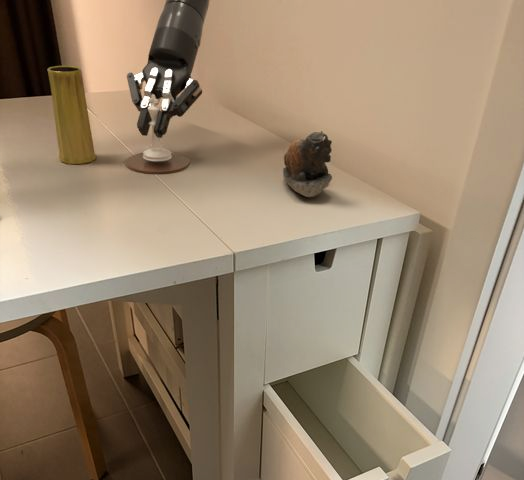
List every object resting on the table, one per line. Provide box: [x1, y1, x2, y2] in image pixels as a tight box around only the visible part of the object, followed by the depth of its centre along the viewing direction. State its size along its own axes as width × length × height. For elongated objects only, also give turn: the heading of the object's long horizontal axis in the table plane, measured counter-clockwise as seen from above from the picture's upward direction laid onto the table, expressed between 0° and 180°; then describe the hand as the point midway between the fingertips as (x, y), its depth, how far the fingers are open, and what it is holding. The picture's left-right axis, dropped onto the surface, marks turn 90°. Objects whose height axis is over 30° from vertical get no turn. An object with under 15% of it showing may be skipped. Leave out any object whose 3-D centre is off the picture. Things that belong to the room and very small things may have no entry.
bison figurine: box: [282, 130, 333, 198], centre depth 86 cm, size 12×7×10 cm, turn 14°
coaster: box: [124, 152, 190, 175], centre depth 96 cm, size 11×11×1 cm
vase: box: [47, 65, 97, 165], centre depth 92 cm, size 6×6×14 cm
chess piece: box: [142, 95, 172, 161], centre depth 93 cm, size 5×5×10 cm
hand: (150, 133), depth 92 cm, fingers closed on chess piece
